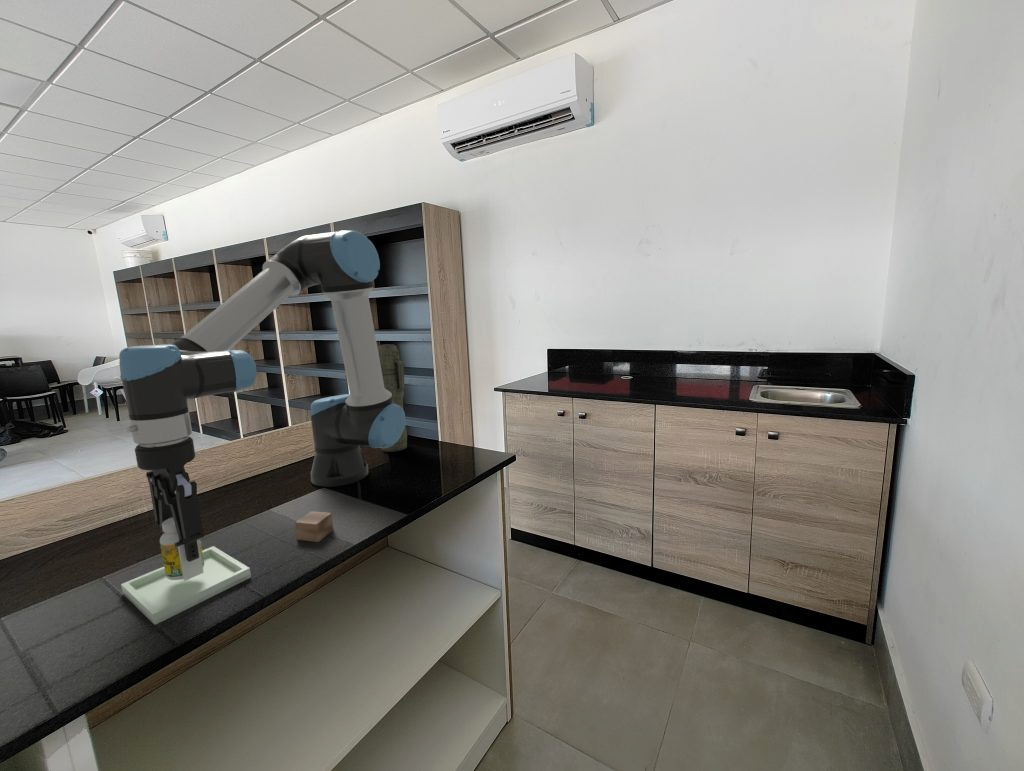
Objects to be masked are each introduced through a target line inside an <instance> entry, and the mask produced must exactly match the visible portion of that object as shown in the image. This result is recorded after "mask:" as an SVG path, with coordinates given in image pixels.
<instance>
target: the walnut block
mask: <svg viewBox="0 0 1024 771" xmlns="http://www.w3.org/2000/svg"><path fill="white" fill-rule="evenodd" d="M332 515H333V513H332V512H325V511H313V510H311V511H309V512H308V513H307V514H305V515H304V516H302V517H300V518H299V519H298V520H296V521H295V522H294V524H295V532H296V533H295V534H296V540H297V541H304V542H305V541H306V542H307V541H308V542H316V543H319V542H320V541H321V540H323V539H324V538H325V537H326V536H328V535H329V534H330V533H331V532H333V531H334V525H333V516H332Z"/></svg>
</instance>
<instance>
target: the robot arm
mask: <svg viewBox="0 0 1024 771" xmlns="http://www.w3.org/2000/svg"><path fill="white" fill-rule="evenodd" d="M380 267H381V263H380V258H379V253H378V251H377V249H376V247H375V245H374V243H373V242H372V241H371V240H370V239H369V238H368V237H367V236H366V235H365V234H363V233H362V232H360V231H356V230H336V231H331V232H330V231H329V232H323V233H322V232H321V233H317V234H307V235H303V236H300V237H299V238H298V237H297V239H295V240H293V241H291V242H290V243H289V244H287V245H285V246H284V247H283V248H281V249H280V250H279V251H277V252H276V253H275V254H274V255H272V256H271V257H269V259H268V260H266V261H265V262H264V263H263V264H262V271H260V272H259V273H257V275H255V277H253V278H252V279H250V280H249V281H248V282H246V284H244V285H243V286H242V287H241V288H240V289H238V290H237V291H236V292H235V293H233V294H232V295H231V296H230V297H229V298H227V299H226V300H225V301H224V302H223V303H221V304H220V305H219V306H217V307H216V308H215V309H214V310H212V312H210V313H208V315H206V316H205V317H204V318H203V319H202V320H200V321H199V322H198V323H197V324H196V325H194V326H193V327H192V328H191V329H189V330H188V331H187V332H186V333H185V334H183V335H182V336H181V337H180V338H177V340H176V341H174V342H172V343H171V344H151V345H149V344H148V345H136V346H135V345H134V346H128V347H125V348H123V349H121V351H120V352H119V356H118V357H119V359H118V360H119V363H118V364H119V372H120V376H119V377H120V381H121V383H122V387H123V391H124V396H125V401H126V407H127V410H128V419H129V422H130V425H129V426H126V430H127V433H131V435H132V439H133V443H135V444H136V446H135V447H134V453H135V458H136V459H135V460H136V465H137V467H138V469H139V470H143V471H146V474H145V476H146V478H147V482H148V484H149V490H150V496H151V498H150V499H151V502H152V508H153V515H154V520H155V522H154V524H155V525H156V526H157V527H159V531H161V533H162V535H163V534H164V533H165V532H164V531H163V530H162V523H163V522H164V521H165V520H167V519H169V518H172V517H173V519H174V522H175V526H176V530H177V533H178V537H179V542H177V543H174V544H175V546H176V547H178V551H179V557H180V563H181V569H182V575H183V580H185V581H186V580H189V579H191V578H193V577H195V576H197V575H200V574H202V573H204V572H203V565H202V559H201V553H200V547H199V540H198V539H200V540H201V539H204V538H205V533H204V529H203V528H204V527H203V524H202V523H203V522H202V517H201V511H200V506H199V500H198V483H197V482H196V481H195V480H193V481H190V475H189V473H188V472H187V471H186V468H185V465H187V464H188V463H190V462H192V461H194V460H195V458H196V452H195V444H194V439H193V438H192V437H191V435H192V434H193V429H192V421H191V416H190V411H189V406H188V405H189V404H188V400H192V399H197V398H202V397H209V396H215V395H220V394H226V393H232V392H233V393H236V392H239V391H242V390H245V389H248V388H251V387H252V386H254V384H255V382H256V381H257V380H256V379H257V375H258V372H257V365H256V362H255V360H254V359H253V357H252V355H250V354H249V353H248V352H246V351H245V350H242V349H235V350H232V349H233V347H234V346H236V345H237V344H238V343H240V341H242V340H243V338H245V336H247V335H248V334H250V332H251V331H252V330H253V329H254V328H255V327H257V326H258V325H259V324H261V322H263V321H264V319H266V318H267V316H269V315H270V314H271V313H272V312H274V310H276V309H277V308H278V307H279V306H280V305H281V304H282V303H283V302H284V301H285V300H287V299H288V298H289V297H296V296H298V295H299V294H300V293H302V291H304V290H305V289H308V288H310V287H313V286H318V285H321V291H322V294H323V295H324V296H325V297H327V298H328V299H329V300H330V301H331V306H332V311H333V316H334V320H335V325H336V330H337V334H338V335H337V337H338V341H339V346H340V351H341V355H342V360H343V365H344V370H345V375H346V376H345V377H346V380H347V385H348V390H349V393H344V394H339V395H334V396H328V397H323V398H322V397H321V398H318V399H316V400H314V401H312V403H311V405H310V419H311V420H310V421H311V429H312V437H313V444H314V458H313V462H312V467H311V470H310V482H311V483H312V484H313V485H314V486H318V487H323V488H331V487H332V488H333V487H342V486H345V485H350V484H353V483H357V482H360V481H361V480H363V479H365V478H366V477H367V476H368V475H369V466H368V463H367V460H366V459H365V456H364V453H363V451H362V450H361V447H368V448H369V447H370V448H372V449H381V448H388V447H391V446H392V445H394V444H395V443H396V442H397V441H398V440H399V438H400V437H401V434H402V432H403V430H404V427H405V426H406V414H405V413H406V412H405V410H404V408H403V409H402V408H401V407H400V406H399V405H397V404H393V399H392V394H391V392H390V391H388V390H386V389H385V388H384V382H383V376H382V371H381V365H380V359H379V354H378V348H377V346H378V343H377V338H376V332H375V326H374V322H373V321H374V320H373V314H372V309H371V305H370V298H369V296H370V293H371V292H373V290H374V284H373V281H374V280H375V279H376V278H377V277H378V275H379V271H380V269H381V268H380Z"/></svg>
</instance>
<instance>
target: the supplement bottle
mask: <svg viewBox="0 0 1024 771" xmlns="http://www.w3.org/2000/svg"><path fill="white" fill-rule="evenodd" d="M162 530H163V531H164V532H163V533H164V534H163V533H162V535H161V536H160V538H159V545H160V551H161V552H160V553H161V556H162V562H163V567H164V568H165V574H166V577H167V578H168V579H170V580H181V579H183V575H182V569H181V563H180V557H179V551H178V547H176V546H175V544H174V543H177V542H179V537H178V533H177V530H176V526H175V522H174V519H173V517H172V518H169V519H167V520H165V521H164V522H163V523H162ZM198 540H199V547H200V553H201V559H202V565H203V567H204V558H203V553H202V551H203V548H202V547H203V546H202V542H201V541H202V540H201V539H198Z"/></svg>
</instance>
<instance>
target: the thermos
mask: <svg viewBox="0 0 1024 771" xmlns="http://www.w3.org/2000/svg"><path fill="white" fill-rule="evenodd" d="M377 348H378V354H379V359H380V365H381V371H382V376H383V382H384V388H385V389H386V390H388V391H390V392H391V394H392V399H393V404H397V405H399V406H400V407H401V408H402V409H403V410H404V401H403V400H404V397H405V391H404V390H406V384H405V366H404V362H403V361H402V359H400V353H399V349H398V347H397V345H395V344H394V343H393V344H391V343H389V344H388V343H385V344H379V345H377ZM407 441H408V433H407V426H406V425H405V427H404V430H403V432H402V434H401V437H400V438H399V440H398V441H397V442H396V443H395V444H394V445H392V446H391V447H388V448H380V450H381V451H383V452H388V453H394V452H399V451H403V450H405V449H407V448H408V442H407Z"/></svg>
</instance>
